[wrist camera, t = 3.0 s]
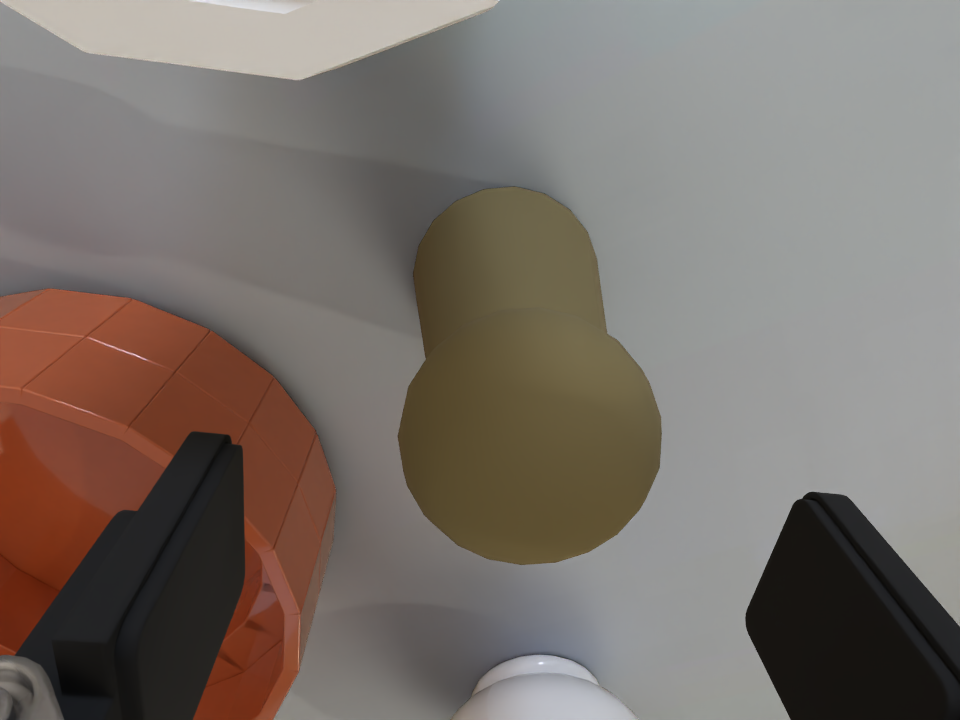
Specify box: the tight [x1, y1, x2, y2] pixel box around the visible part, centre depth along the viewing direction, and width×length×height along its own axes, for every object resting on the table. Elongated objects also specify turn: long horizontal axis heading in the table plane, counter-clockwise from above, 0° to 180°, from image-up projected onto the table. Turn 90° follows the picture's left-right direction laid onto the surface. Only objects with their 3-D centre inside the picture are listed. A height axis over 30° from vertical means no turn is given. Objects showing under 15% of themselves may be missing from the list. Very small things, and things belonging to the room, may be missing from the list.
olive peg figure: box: [398, 187, 662, 565], centre depth 17 cm, size 6×6×11 cm
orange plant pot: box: [0, 288, 336, 720], centre depth 22 cm, size 16×16×6 cm
